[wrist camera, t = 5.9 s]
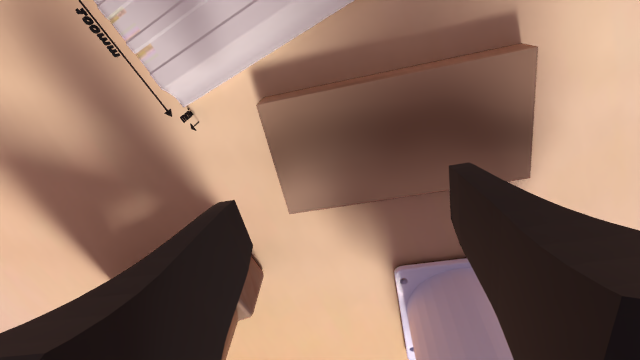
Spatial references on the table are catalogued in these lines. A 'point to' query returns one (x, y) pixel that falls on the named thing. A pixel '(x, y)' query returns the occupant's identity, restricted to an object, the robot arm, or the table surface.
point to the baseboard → (205, 37)
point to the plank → (403, 129)
